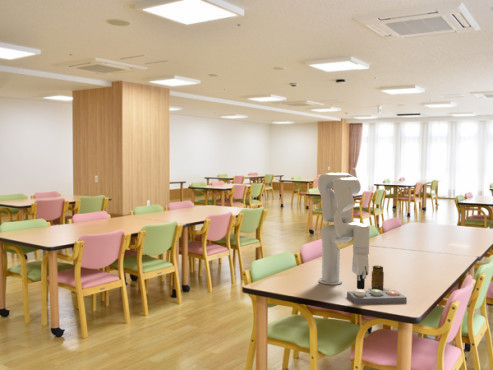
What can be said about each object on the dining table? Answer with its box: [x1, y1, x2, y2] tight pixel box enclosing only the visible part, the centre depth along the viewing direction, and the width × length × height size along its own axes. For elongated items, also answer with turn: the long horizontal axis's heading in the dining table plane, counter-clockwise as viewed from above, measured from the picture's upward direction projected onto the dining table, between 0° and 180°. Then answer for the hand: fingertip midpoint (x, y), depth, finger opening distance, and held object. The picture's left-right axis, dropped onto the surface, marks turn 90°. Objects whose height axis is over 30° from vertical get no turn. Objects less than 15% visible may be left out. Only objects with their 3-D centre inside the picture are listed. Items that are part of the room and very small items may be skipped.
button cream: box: [354, 289, 366, 297], centre depth 220 cm, size 5×5×2 cm
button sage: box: [370, 289, 382, 296], centre depth 221 cm, size 5×5×2 cm
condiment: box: [368, 265, 390, 291], centre depth 239 cm, size 7×8×12 cm
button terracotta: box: [387, 290, 399, 296], centre depth 222 cm, size 5×5×2 cm
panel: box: [346, 289, 408, 305], centre depth 221 cm, size 12×25×2 cm, turn 97°
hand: (360, 288), depth 220 cm, fingers closed
